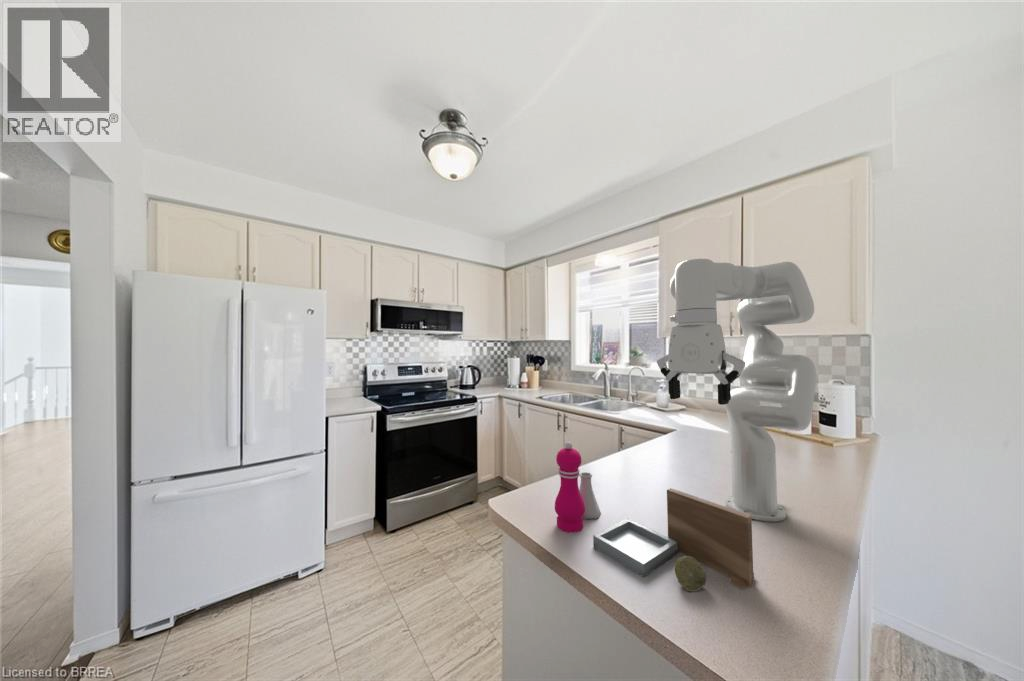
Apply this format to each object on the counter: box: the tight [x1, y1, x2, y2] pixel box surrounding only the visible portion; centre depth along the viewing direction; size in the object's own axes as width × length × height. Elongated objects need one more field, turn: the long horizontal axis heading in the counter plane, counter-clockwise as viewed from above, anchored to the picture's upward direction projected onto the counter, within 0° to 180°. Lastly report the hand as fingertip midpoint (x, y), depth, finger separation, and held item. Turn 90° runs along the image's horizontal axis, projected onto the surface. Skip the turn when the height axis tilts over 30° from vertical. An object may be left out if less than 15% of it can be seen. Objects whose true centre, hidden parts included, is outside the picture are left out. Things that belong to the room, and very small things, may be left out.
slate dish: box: [592, 518, 678, 578], centre depth 70 cm, size 12×12×2 cm
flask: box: [579, 471, 602, 520], centre depth 86 cm, size 7×7×10 cm
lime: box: [673, 555, 707, 592], centre depth 59 cm, size 4×5×5 cm
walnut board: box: [666, 487, 755, 590], centre depth 65 cm, size 5×15×12 cm, turn 35°
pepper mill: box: [554, 441, 585, 534], centre depth 80 cm, size 7×7×20 cm
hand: (698, 401), depth 69 cm, fingers open, 9 cm apart
